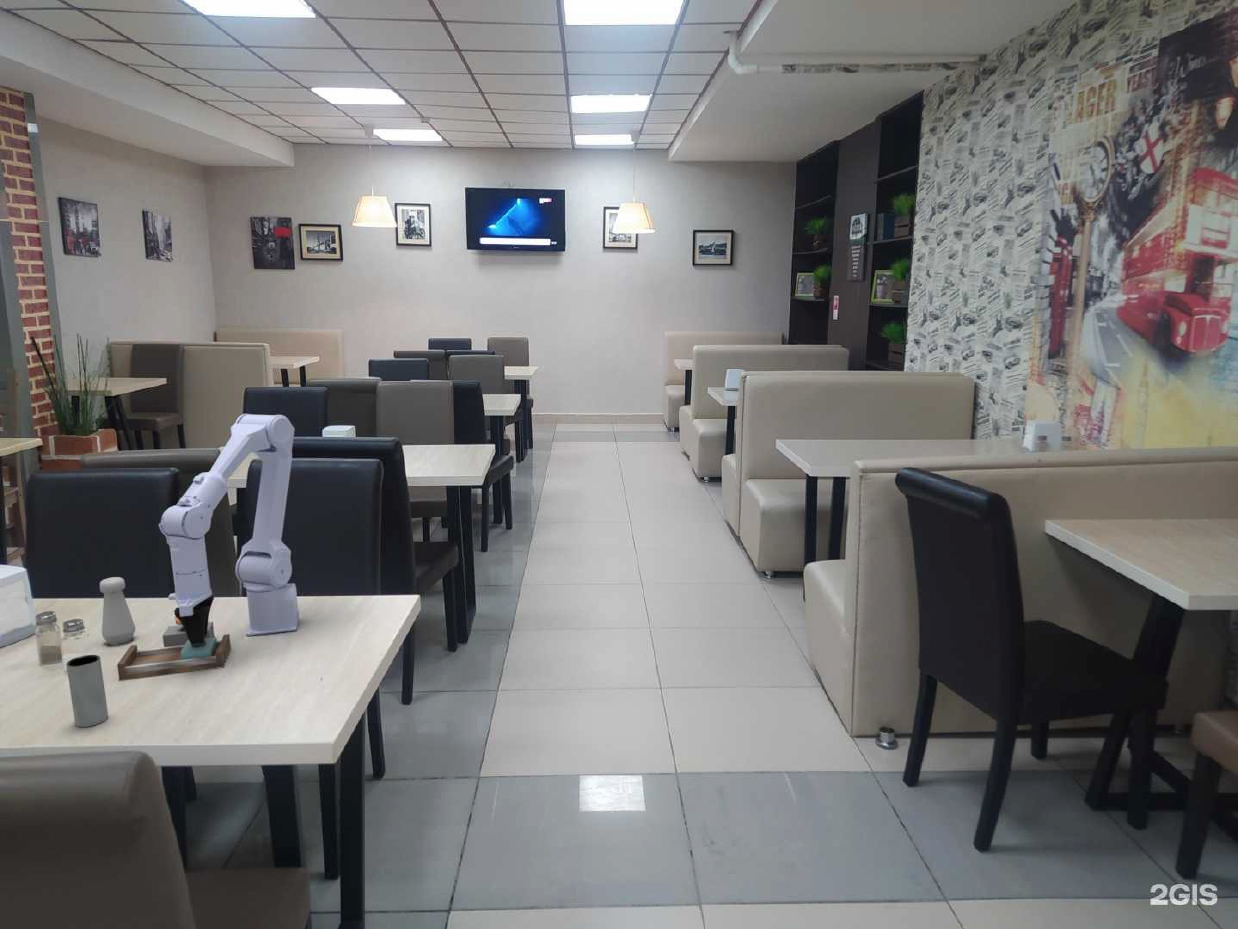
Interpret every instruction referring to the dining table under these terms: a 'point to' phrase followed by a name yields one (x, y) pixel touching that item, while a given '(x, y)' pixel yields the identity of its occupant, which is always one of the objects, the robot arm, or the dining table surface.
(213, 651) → the blue block with peg
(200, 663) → the rail board
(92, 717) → the planter
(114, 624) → the salt shaker
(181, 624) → the button
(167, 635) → the grey rectangular block
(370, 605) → the dining table surface
